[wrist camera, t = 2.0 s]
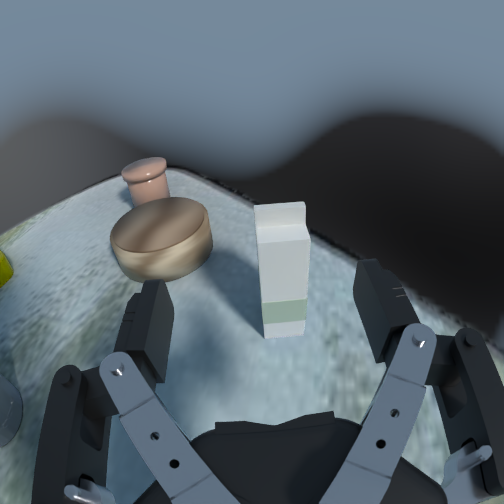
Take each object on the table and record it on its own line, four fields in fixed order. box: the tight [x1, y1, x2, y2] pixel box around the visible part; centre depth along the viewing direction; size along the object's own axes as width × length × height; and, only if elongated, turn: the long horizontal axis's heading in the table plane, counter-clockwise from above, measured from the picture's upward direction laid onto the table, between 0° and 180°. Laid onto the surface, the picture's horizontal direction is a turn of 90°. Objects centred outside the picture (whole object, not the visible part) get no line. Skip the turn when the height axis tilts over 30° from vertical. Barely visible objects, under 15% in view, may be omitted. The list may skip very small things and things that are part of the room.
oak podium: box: [110, 197, 213, 283], centre depth 42 cm, size 14×14×5 cm
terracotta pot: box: [122, 157, 170, 208], centre depth 52 cm, size 8×8×8 cm
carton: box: [254, 202, 310, 339], centre depth 28 cm, size 4×5×14 cm
